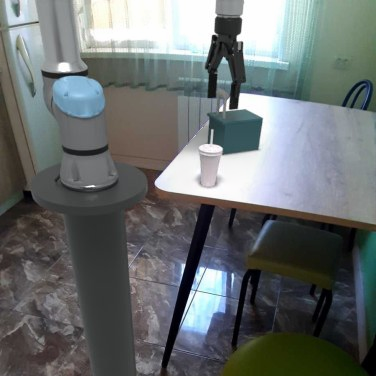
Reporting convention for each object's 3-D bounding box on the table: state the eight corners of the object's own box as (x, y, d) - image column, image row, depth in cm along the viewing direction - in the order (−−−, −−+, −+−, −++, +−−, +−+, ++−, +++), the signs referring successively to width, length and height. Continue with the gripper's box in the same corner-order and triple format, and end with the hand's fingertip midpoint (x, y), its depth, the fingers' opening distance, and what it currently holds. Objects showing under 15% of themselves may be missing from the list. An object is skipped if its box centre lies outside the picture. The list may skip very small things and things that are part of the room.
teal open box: (222, 154, 131) (225, 125, 125) (207, 144, 138) (209, 115, 132) (258, 149, 136) (262, 120, 130) (241, 139, 143) (245, 111, 137)
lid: (222, 125, 125) (225, 95, 119) (206, 115, 132) (208, 86, 126) (262, 120, 130) (267, 91, 124) (245, 111, 137) (248, 83, 131)
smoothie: (220, 180, 116) (225, 127, 106) (218, 190, 111) (223, 135, 102) (198, 178, 117) (201, 125, 107) (194, 187, 112) (197, 133, 102)
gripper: (265, 21, 105) (254, 113, 119) (218, 10, 121) (213, 92, 135) (240, 22, 102) (232, 115, 117) (196, 11, 118) (193, 94, 133)
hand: (222, 103), depth 126 cm, fingers open, 13 cm apart
